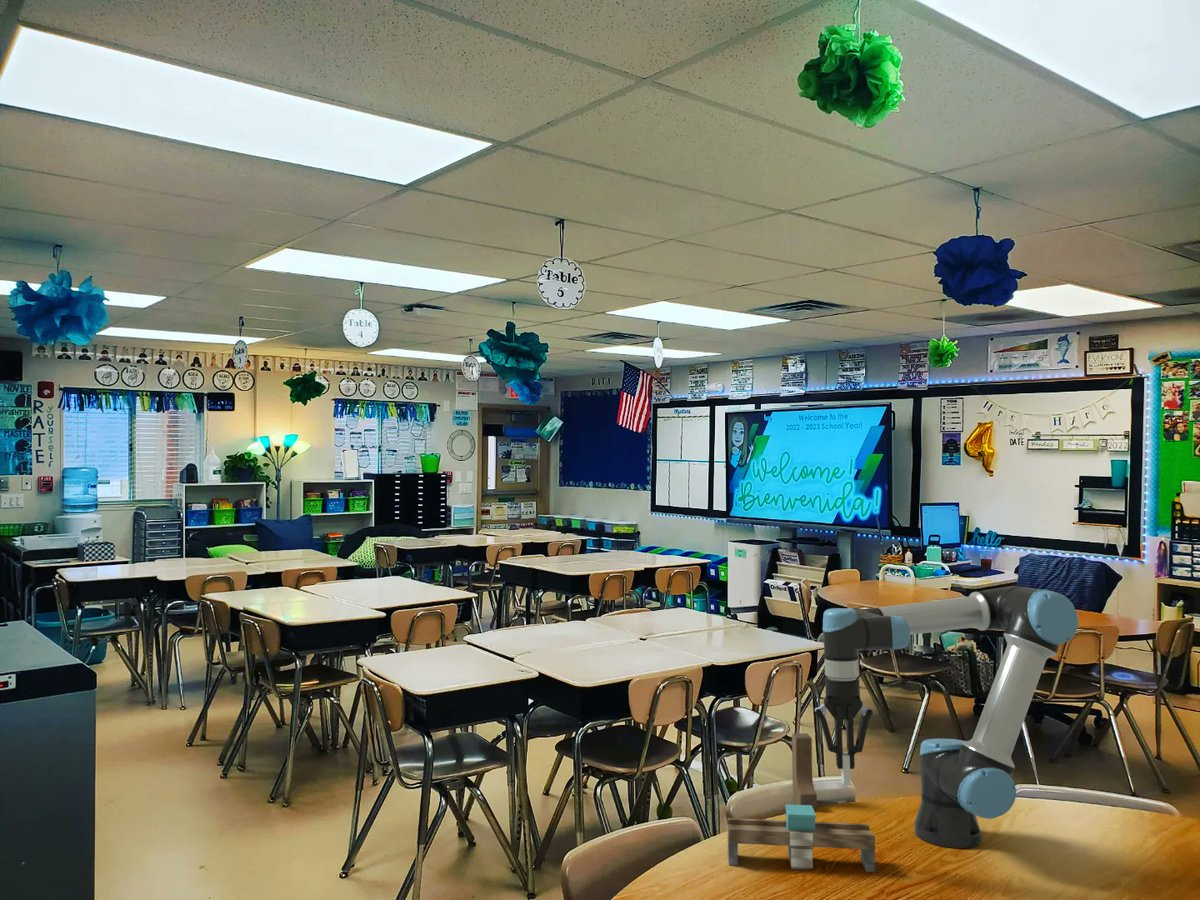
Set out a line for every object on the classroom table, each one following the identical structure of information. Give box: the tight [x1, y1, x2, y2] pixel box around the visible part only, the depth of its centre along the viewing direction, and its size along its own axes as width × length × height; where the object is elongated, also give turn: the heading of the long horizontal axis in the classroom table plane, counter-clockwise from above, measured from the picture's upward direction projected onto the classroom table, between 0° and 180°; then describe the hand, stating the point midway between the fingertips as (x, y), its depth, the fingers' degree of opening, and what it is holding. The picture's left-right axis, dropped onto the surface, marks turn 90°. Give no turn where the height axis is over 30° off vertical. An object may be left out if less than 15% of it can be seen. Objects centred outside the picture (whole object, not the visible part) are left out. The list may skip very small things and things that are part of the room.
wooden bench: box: [726, 817, 876, 873], centre depth 192 cm, size 32×7×8 cm, turn 84°
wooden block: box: [791, 732, 818, 812], centre depth 229 cm, size 9×4×18 cm, turn 0°
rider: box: [784, 803, 817, 831], centre depth 192 cm, size 6×6×5 cm
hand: (846, 783), depth 192 cm, fingers closed
